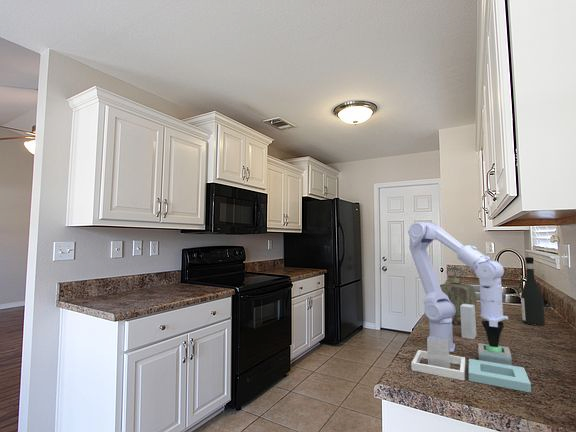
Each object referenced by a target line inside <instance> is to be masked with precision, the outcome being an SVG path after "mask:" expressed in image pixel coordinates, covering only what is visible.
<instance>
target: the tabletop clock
mask: <svg viewBox="0 0 576 432" xmlns="http://www.w3.org/2000/svg"><path fill="white" fill-rule="evenodd" d="M451 270H458V271H460V272H461V274H460V275H457V274H456V273H453V275H452V274H450V273H449V271H451ZM446 275H448V276H450V277H452V278H450V279H449V281H448V282H446V283H442V284H439V285H440V287H441V290H442V292H443V293H445V294H446V295H447V296H448V298H449V300H450V302H451V303H452V304H453V305H454V307H455V310H456V312H455V315H454V316H453V317H452V318H454V321H452V324H453V325H455V324H456V325H458V321H457V318H461V314H460V306H461V305H462V304H470V305H475V313H476V311H477V295H476V290H475V287H474V286H473V285H471V284H468V283H463V282H462V280H461V279H460V278H461V277H462V276H463V275H464V272H463V270H462V269H461V268H458V267H450V268H447V270H446ZM459 277H460V278H459Z"/></svg>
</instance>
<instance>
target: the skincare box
mask: <svg viewBox="0 0 576 432" xmlns="http://www.w3.org/2000/svg"><path fill="white" fill-rule="evenodd" d="M460 314H461V317H460V329H461V330H460V332H461V338H463V339H468V340H474V339H475V338H476V337H477V323H476V321H477V320H476V312H475V305H470V304H462V305H461V306H460Z"/></svg>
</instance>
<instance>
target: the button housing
mask: <svg viewBox="0 0 576 432" xmlns="http://www.w3.org/2000/svg"><path fill="white" fill-rule="evenodd" d="M486 344H487V343H481V342H478V343H477V345H478V348H477V349H478V360H481V361H487V362H493V363H499V364H505V365H512V364H513V363H512V362H513V361H512V354H511V350H510V347H508V346H501V345H500V346H501V347H502V352H497V351H490V350H486ZM512 366H513V365H512Z"/></svg>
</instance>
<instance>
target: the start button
mask: <svg viewBox="0 0 576 432" xmlns="http://www.w3.org/2000/svg"><path fill="white" fill-rule="evenodd" d="M485 344H486V350H490V351H497V352H502V347H501V345H498V347H492V346H490V345H489V343H485Z"/></svg>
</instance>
